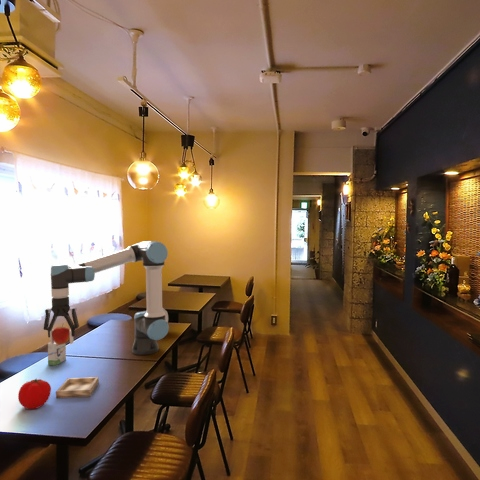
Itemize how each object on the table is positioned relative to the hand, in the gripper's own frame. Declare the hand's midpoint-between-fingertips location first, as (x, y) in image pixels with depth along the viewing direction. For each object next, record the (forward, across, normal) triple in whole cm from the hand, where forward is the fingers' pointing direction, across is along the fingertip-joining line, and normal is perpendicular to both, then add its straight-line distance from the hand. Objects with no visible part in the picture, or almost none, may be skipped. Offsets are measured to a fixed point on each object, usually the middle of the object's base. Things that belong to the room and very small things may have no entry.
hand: (62, 343), depth 184 cm
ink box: (+18, +12, -23) cm, 31 cm away
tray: (+17, -12, +15) cm, 25 cm away
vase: (+18, -35, -70) cm, 81 cm away
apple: (+1, 0, 0) cm, 1 cm away
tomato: (+17, +1, +28) cm, 33 cm away
